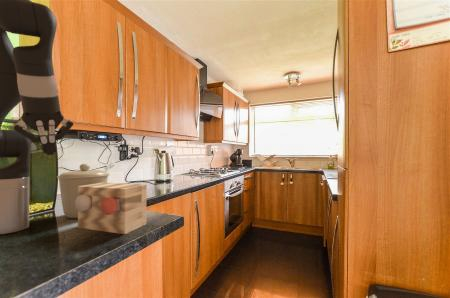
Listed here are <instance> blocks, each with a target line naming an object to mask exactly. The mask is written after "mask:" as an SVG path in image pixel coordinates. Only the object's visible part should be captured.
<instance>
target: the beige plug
mask: <svg viewBox="0 0 450 298" xmlns="http://www.w3.org/2000/svg"><path fill="white" fill-rule="evenodd" d="M75 205H76V208H77V209H78V210H79V211H85V210H88V209H89V208H91V206H92V196H88V195H86V194H84V195H79V196H78V197H77V198H76V200H75Z"/></svg>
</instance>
